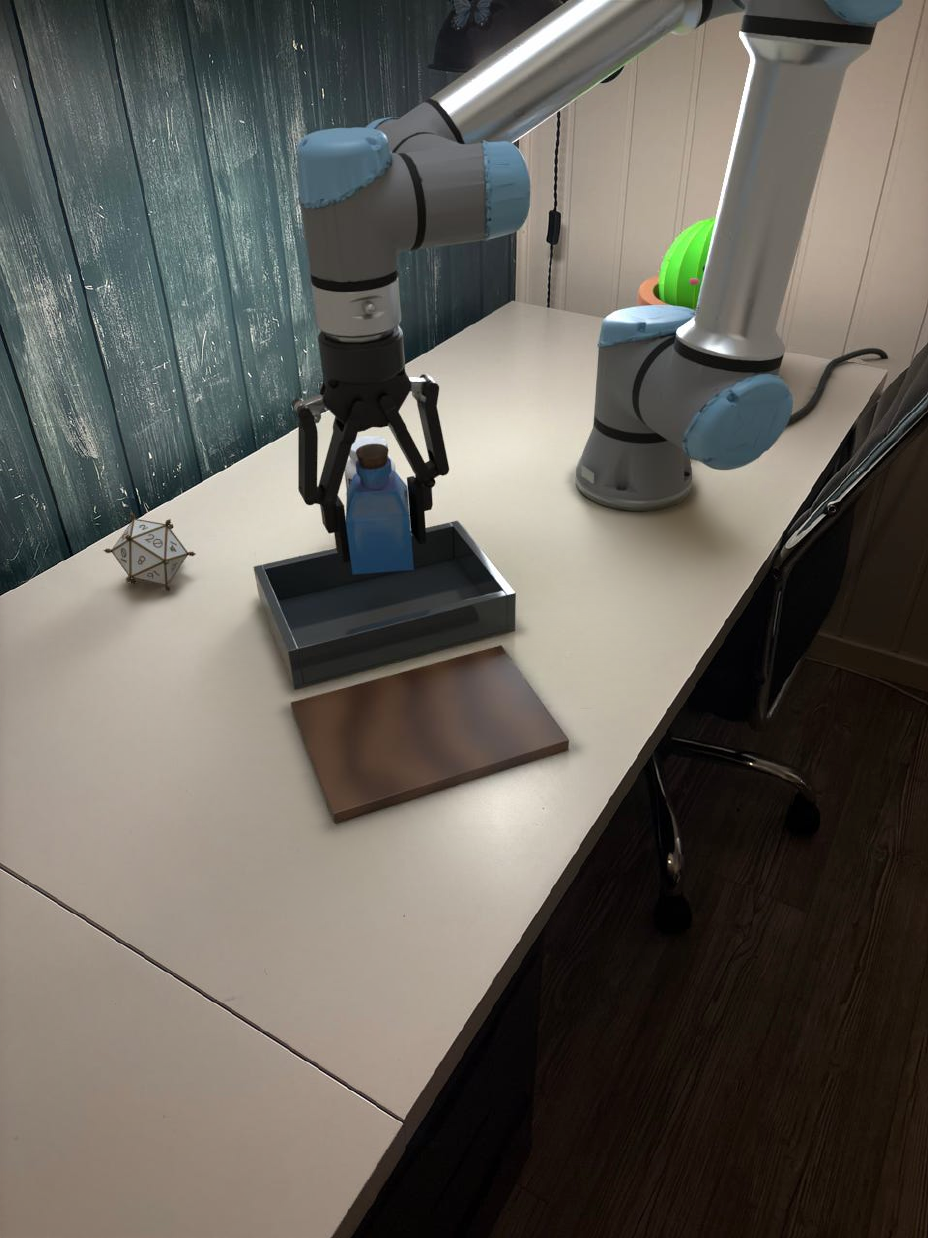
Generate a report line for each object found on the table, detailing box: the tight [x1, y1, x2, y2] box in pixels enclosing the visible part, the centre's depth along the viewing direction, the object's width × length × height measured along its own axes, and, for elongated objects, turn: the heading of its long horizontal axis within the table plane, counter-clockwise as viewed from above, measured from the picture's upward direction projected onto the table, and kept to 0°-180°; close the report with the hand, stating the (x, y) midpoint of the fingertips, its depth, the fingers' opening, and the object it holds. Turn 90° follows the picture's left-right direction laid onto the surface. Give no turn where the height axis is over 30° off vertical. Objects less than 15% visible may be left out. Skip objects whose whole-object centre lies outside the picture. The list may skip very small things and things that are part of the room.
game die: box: [102, 511, 197, 593], centre depth 104 cm, size 9×8×10 cm
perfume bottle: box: [345, 444, 414, 574], centre depth 92 cm, size 6×6×12 cm
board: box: [290, 644, 570, 824], centre depth 85 cm, size 22×15×1 cm
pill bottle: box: [344, 435, 397, 490], centre depth 112 cm, size 6×6×11 cm
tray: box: [253, 520, 517, 690], centre depth 99 cm, size 24×16×5 cm, turn 112°
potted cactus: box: [636, 214, 716, 311], centre depth 145 cm, size 22×22×25 cm
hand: (381, 546), depth 95 cm, fingers closed on perfume bottle, 7 cm apart
